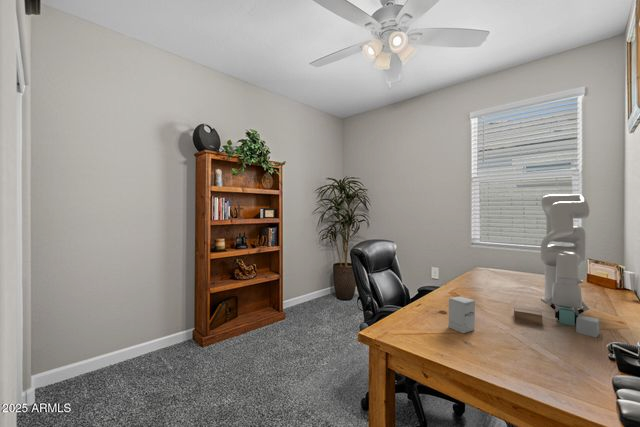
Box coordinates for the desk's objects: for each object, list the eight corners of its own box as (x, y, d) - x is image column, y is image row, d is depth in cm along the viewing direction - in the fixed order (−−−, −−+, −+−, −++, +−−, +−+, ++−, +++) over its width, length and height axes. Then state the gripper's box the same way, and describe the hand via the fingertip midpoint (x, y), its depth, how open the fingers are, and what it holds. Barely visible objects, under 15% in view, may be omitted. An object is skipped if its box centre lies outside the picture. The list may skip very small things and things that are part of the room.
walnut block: (513, 314, 136) (513, 304, 136) (540, 319, 130) (540, 308, 130) (514, 321, 127) (514, 310, 127) (542, 326, 122) (542, 315, 122)
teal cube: (558, 319, 129) (558, 306, 129) (573, 322, 126) (573, 309, 126) (559, 323, 125) (559, 309, 125) (574, 325, 122) (574, 312, 122)
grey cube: (579, 328, 119) (579, 314, 119) (599, 333, 114) (599, 319, 114) (576, 332, 115) (576, 318, 115) (596, 337, 111) (596, 322, 111)
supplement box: (463, 334, 113) (464, 302, 113) (447, 327, 120) (448, 297, 120) (475, 330, 117) (475, 300, 117) (459, 324, 123) (459, 295, 123)
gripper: (591, 282, 123) (591, 323, 124) (542, 276, 134) (542, 314, 134) (594, 285, 118) (594, 329, 118) (542, 279, 128) (542, 319, 128)
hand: (566, 321), depth 126 cm, fingers closed on teal cube, 5 cm apart
